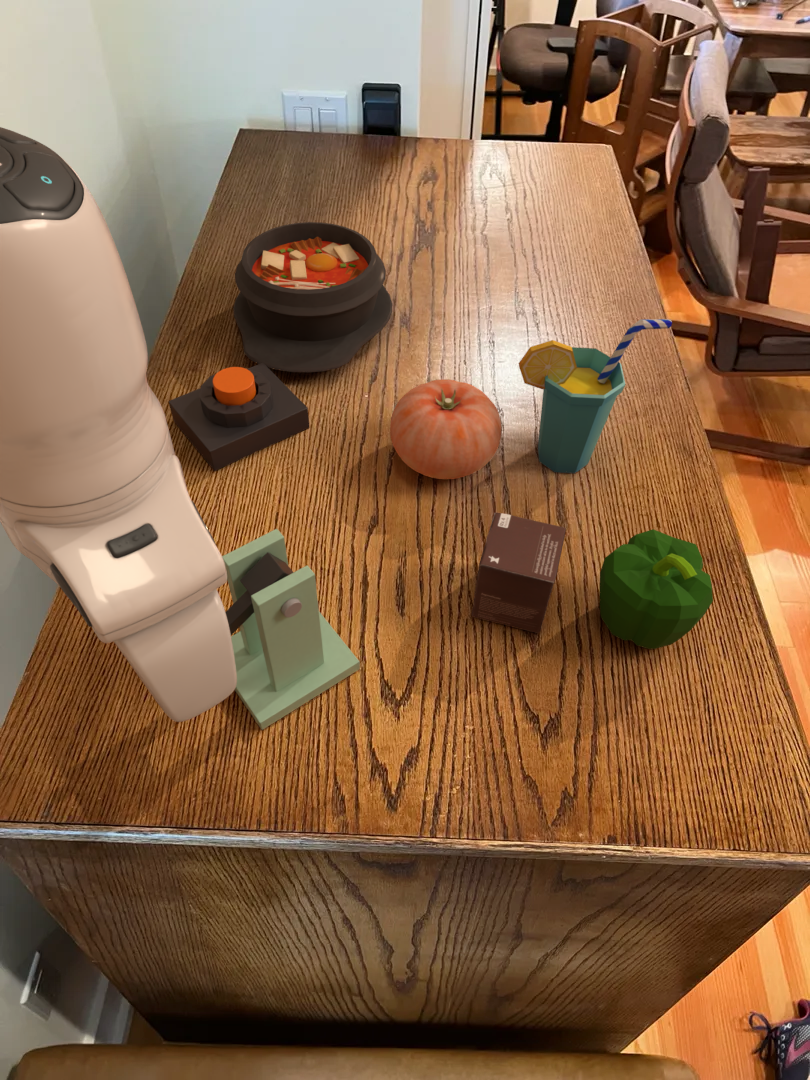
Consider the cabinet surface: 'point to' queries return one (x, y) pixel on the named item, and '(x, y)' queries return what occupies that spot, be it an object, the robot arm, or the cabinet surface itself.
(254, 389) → the button
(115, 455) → the robot arm
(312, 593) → the lever stand
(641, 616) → the bell pepper
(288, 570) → the lever
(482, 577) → the box
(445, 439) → the tomato
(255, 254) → the casserole
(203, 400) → the button housing
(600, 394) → the cup
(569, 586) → the cabinet surface
